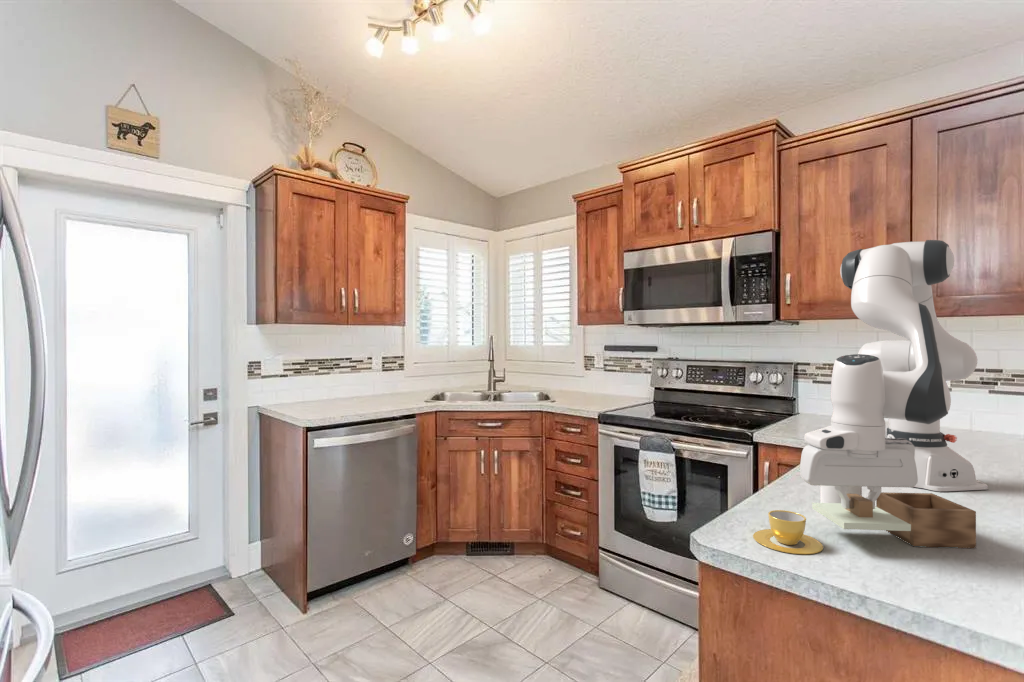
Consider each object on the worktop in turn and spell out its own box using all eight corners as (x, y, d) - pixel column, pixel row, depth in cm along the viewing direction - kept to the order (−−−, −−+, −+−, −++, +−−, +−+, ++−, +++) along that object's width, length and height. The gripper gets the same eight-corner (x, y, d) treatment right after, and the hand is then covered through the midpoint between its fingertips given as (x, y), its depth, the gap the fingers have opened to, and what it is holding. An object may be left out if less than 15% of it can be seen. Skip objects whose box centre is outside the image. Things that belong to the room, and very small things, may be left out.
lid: (871, 509, 103) (870, 489, 103) (910, 531, 91) (910, 508, 91) (812, 508, 104) (812, 488, 104) (844, 529, 92) (843, 506, 92)
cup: (815, 562, 89) (815, 532, 89) (744, 544, 97) (744, 516, 97) (829, 542, 98) (829, 514, 98) (763, 526, 106) (763, 501, 106)
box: (932, 526, 105) (931, 493, 105) (976, 548, 94) (975, 511, 94) (876, 525, 106) (876, 492, 106) (913, 546, 95) (913, 509, 95)
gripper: (902, 435, 100) (903, 504, 100) (796, 434, 102) (796, 501, 102) (926, 441, 94) (926, 515, 94) (811, 440, 96) (812, 512, 95)
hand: (857, 508), depth 98 cm, fingers closed on lid, 2 cm apart
